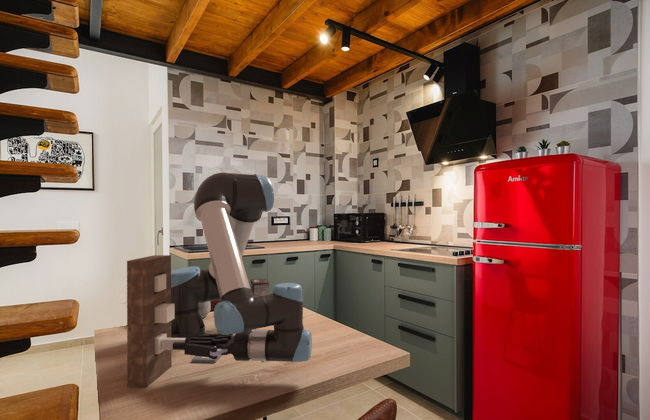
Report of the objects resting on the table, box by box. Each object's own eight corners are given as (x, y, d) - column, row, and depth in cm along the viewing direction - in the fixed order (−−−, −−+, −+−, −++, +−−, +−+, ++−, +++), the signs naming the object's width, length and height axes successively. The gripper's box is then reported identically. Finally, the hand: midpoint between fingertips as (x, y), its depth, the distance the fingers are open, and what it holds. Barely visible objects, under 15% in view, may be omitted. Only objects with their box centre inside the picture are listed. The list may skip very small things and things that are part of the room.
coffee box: (250, 319, 143) (250, 279, 143) (266, 317, 145) (266, 278, 145) (252, 325, 134) (252, 283, 135) (269, 323, 136) (269, 282, 137)
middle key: (174, 318, 95) (174, 303, 95) (166, 323, 91) (166, 307, 91) (160, 318, 95) (160, 303, 95) (151, 323, 91) (151, 307, 91)
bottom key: (166, 348, 95) (166, 333, 95) (158, 354, 91) (158, 338, 91) (152, 348, 95) (152, 333, 95) (143, 354, 91) (143, 338, 91)
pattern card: (227, 349, 111) (227, 346, 111) (215, 362, 101) (215, 359, 101) (206, 348, 111) (206, 345, 111) (191, 362, 101) (191, 358, 102)
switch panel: (171, 366, 99) (170, 255, 99) (146, 387, 87) (146, 260, 87) (154, 365, 99) (153, 255, 100) (127, 386, 87) (126, 260, 88)
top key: (166, 288, 95) (166, 273, 95) (158, 291, 91) (158, 276, 91) (152, 288, 95) (151, 273, 95) (143, 291, 91) (143, 276, 91)
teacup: (201, 322, 140) (201, 301, 140) (177, 320, 142) (177, 300, 142) (219, 312, 154) (219, 293, 154) (196, 311, 156) (196, 293, 156)
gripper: (244, 370, 85) (149, 368, 86) (258, 350, 98) (175, 348, 99) (244, 339, 85) (149, 338, 86) (258, 322, 98) (175, 321, 99)
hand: (163, 343), depth 93 cm, fingers closed
